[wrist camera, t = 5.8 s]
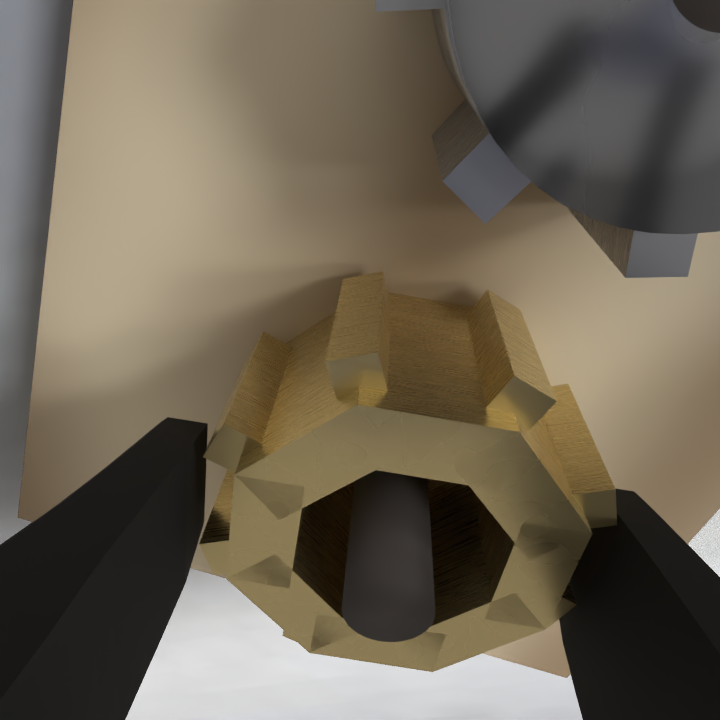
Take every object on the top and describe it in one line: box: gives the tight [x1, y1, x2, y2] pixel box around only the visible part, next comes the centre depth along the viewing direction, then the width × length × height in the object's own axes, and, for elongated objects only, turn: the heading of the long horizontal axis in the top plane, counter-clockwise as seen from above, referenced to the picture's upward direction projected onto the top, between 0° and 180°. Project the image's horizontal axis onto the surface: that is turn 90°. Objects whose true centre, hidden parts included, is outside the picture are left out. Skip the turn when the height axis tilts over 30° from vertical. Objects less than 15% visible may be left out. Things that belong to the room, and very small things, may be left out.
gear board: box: [18, 0, 720, 678], centre depth 8 cm, size 13×18×5 cm
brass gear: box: [199, 271, 617, 672], centre depth 10 cm, size 6×6×3 cm
